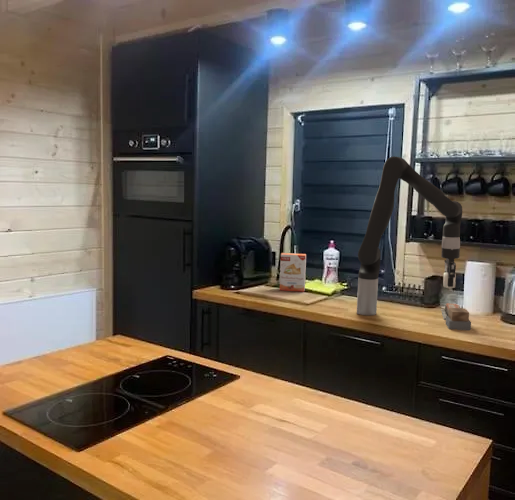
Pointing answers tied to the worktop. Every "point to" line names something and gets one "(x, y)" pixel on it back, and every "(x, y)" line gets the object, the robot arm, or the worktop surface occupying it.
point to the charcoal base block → (458, 324)
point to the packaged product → (446, 310)
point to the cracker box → (292, 272)
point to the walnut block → (458, 314)
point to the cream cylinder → (445, 280)
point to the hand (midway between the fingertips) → (449, 285)
